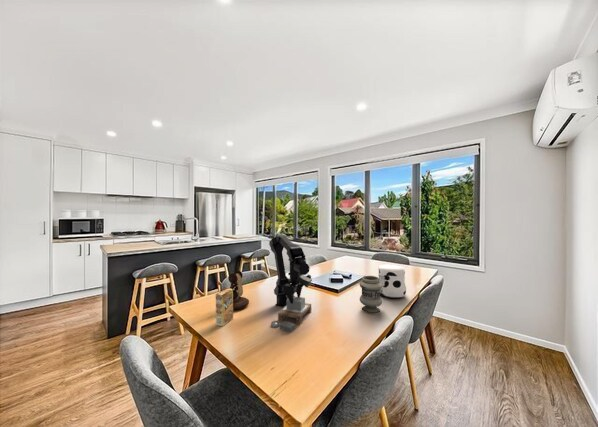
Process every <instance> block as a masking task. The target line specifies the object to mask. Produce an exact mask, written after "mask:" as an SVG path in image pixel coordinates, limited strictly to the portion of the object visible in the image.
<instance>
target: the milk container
mask: <svg viewBox="0 0 598 427" xmlns="http://www.w3.org/2000/svg"><path fill="white" fill-rule="evenodd" d="M405 273H406V272H405V267H404V266H400V265H395V264H382V265H379V266H378V278H379V282H381V284H382V288H381V289H380V296H383V297H385V298H392V299H401V298H404V297H405V296H406V295H407V286H406V282H405V281H406V280H405V279H406V277H405Z"/></svg>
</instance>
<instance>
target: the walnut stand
mask: <svg viewBox="0 0 598 427" xmlns="http://www.w3.org/2000/svg"><path fill="white" fill-rule="evenodd" d="M311 312H312V303H307V302H305V307H304V308H303V309H302V310H301V311H298V310H292V309H287V305H286V306H285V307H282V308H281V309H280V310H279V311H278V312H277V321H279V322H283V321H284V320H285V318H284V317H288V318H294V319H296V325H300V326H301V325H302V323H303V316H305V314H306V313H309V314H310V313H311Z"/></svg>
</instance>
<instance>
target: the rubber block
mask: <svg viewBox="0 0 598 427" xmlns="http://www.w3.org/2000/svg"><path fill="white" fill-rule="evenodd" d="M279 330H281V331H284V332H287V333H292V332H293V331H295V330H296V323H293V322H290V321H287V320H283V321H282V322H280V323H279Z"/></svg>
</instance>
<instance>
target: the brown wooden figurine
mask: <svg viewBox="0 0 598 427" xmlns="http://www.w3.org/2000/svg"><path fill="white" fill-rule="evenodd" d="M227 278H228V282H230V286H229V289H233V310H237V309H238V310H239V311H241V310H242V308H245V307H246V306H249V304H250V300H249V299H248V298H246V297H244V296H243V293H244V288H243V282H242V278H243V272H242V271H240V270H238V269H237V270H236V271H234V272H233V273H229V275H228V277H227Z"/></svg>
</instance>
